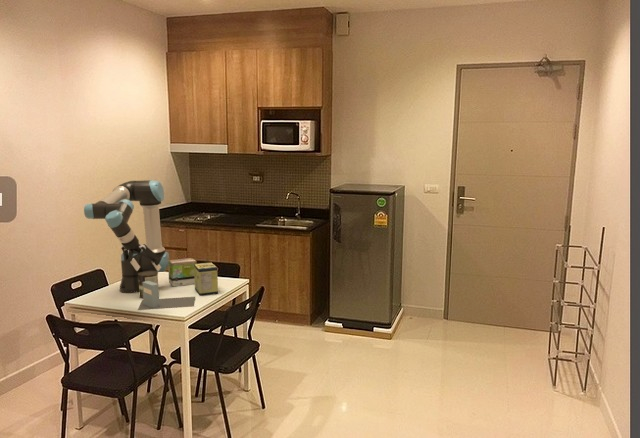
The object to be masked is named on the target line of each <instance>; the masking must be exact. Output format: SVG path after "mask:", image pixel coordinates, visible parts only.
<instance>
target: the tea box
mask: <svg viewBox="0 0 640 438" xmlns="http://www.w3.org/2000/svg"><path fill="white" fill-rule="evenodd" d="M197 262H198V261H197V260H195V259H194V258H193V257H192V258H191V257H190V258H181V259H180V258H179V259H178V258H177V259H169V263H168V284H169V285H170V286H171V287H173V288H174V287H179V286H187V285H195V277H194V264H198V263H197Z"/></svg>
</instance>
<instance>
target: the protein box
mask: <svg viewBox="0 0 640 438" xmlns="http://www.w3.org/2000/svg"><path fill="white" fill-rule="evenodd" d="M194 277H195V284H194V290H195V291H196V293H197V294H198V296H199V297H203V296H210V295H218V294H219V286H218V284H219V283H218V267H217V266H216V265H215V264H213V263H212V261H211V262H200V263H197V264H194Z"/></svg>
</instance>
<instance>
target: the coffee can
mask: <svg viewBox="0 0 640 438" xmlns="http://www.w3.org/2000/svg"><path fill="white" fill-rule="evenodd" d="M158 273H159V272H157V271H143V272H140V273H138V276H139V292H138V293H139V298H140V299H141V300H143V283H142V282H145V281H151V282H154V283H157V284H158V285H159V278H158V277H159V276H158Z"/></svg>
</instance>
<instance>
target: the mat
mask: <svg viewBox="0 0 640 438" xmlns="http://www.w3.org/2000/svg"><path fill="white" fill-rule="evenodd" d="M195 301H196V296H184V297H167V298H166V297H165V298H159V307H155V308H152V307H150V306H147V305H145V304H144V302H143V299H141V302H140V304H139V307H138V308H137V311H145V310H146V311H147V310H160V309H177V308H188V307H189V308H190V307H195Z"/></svg>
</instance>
